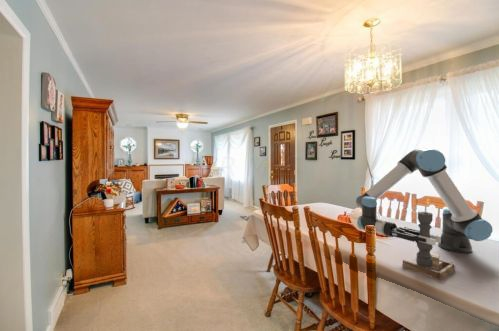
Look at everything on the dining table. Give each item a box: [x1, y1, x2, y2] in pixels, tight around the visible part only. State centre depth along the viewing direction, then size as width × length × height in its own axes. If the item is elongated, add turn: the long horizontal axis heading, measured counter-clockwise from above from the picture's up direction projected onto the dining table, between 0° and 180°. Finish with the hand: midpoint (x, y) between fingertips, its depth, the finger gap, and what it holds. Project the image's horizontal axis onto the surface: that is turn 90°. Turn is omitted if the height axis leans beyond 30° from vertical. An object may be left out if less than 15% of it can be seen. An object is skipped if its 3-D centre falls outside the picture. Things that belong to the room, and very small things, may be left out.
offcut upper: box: [430, 253, 440, 264], centre depth 118 cm, size 4×7×3 cm, turn 56°
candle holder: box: [415, 211, 434, 268], centre depth 114 cm, size 6×6×25 cm
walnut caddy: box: [402, 259, 456, 281], centre depth 116 cm, size 16×16×3 cm
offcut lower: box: [429, 261, 444, 271], centre depth 119 cm, size 5×8×3 cm, turn 33°
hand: (437, 241), depth 109 cm, fingers closed on candle holder, 5 cm apart
